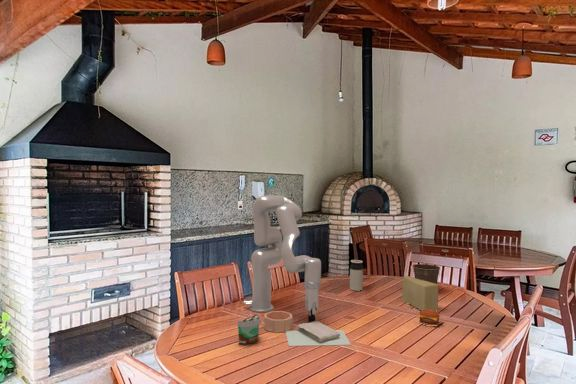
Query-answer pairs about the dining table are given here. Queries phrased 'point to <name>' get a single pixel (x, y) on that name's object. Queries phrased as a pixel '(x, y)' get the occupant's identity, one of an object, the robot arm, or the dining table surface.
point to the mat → (302, 340)
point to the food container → (249, 330)
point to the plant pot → (426, 272)
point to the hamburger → (429, 317)
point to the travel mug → (356, 275)
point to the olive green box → (420, 293)
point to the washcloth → (318, 331)
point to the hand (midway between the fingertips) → (311, 323)
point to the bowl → (278, 321)
